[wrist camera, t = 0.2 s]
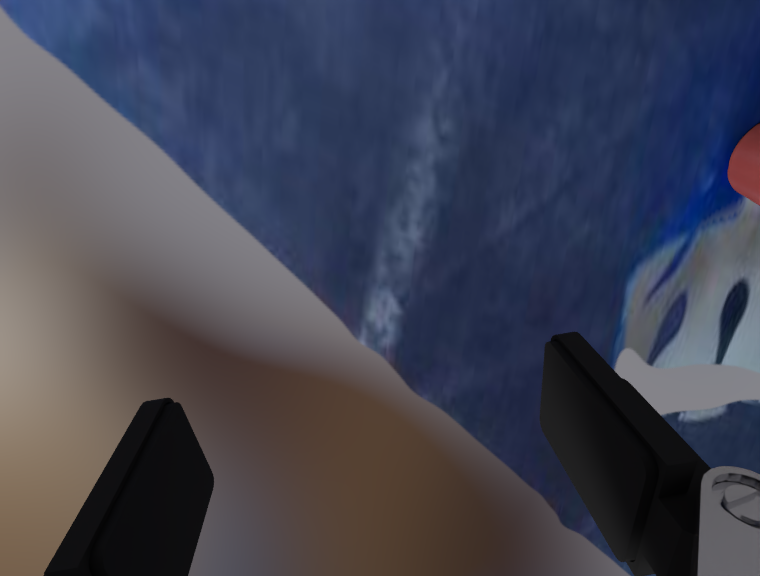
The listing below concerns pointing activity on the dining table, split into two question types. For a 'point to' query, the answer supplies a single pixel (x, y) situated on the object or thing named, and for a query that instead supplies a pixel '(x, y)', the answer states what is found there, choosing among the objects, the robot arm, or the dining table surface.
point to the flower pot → (746, 166)
